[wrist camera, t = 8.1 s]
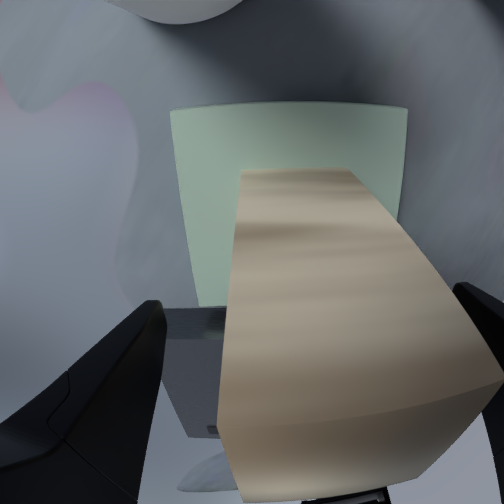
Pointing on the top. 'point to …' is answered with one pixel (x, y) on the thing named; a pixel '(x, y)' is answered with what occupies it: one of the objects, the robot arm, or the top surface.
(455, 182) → the top surface
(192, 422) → the plate
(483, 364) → the peg
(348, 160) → the pad
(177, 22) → the can
